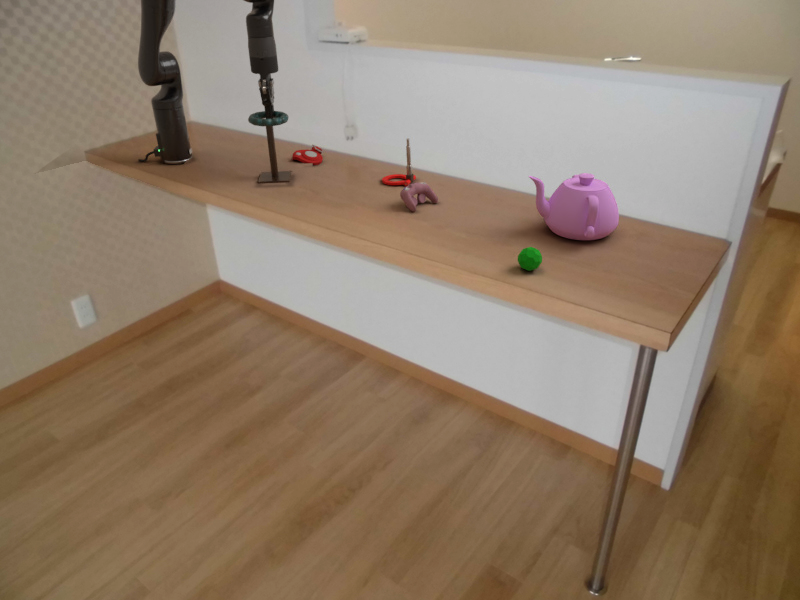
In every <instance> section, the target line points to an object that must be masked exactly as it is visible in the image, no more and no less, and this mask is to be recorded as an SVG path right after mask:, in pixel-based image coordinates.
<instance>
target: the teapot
mask: <svg viewBox="0 0 800 600" xmlns="http://www.w3.org/2000/svg"><path fill="white" fill-rule="evenodd" d="M528 178H529V179H531V181H532V182H533V184H534V185H535V188H536V189H535V191H536V193H535V207H536V210H537V212H538V213H539V215H540V216H541V217H542V218H543V220H544V223H545V225H546V226H547V227H548V228H549V229H550V231H551V232H552V233H554V234H555V235H558V236H560V237H562V238H565V239H570V240H576V241H595V240H601V239H604V238H605V237H607V236H608V235H610V234H611V233H613V232H614V231H615V230H616V229H617V227H618V226H619V221H620V212H619V206H618V203H617V200H616V198H615V196H614V193H613V191H612V189H611V188H610V186H609V184H608V183H607V182H606V181H604V180H601V179H598V178H595V174H593V173H589V172H582V173H579V174H573V175H572V176H571V177H570V178H569V177H568V178H566V179H564V180H563V181H562V182H561V183H560V184H559V186H558V187H556V189H555V190H554V192H552V194H551V196H550V197H549V199H548V200H547V199H546V197H545V184H544V182H543V180H542V179H541V178H539V177H535V176H532V175H528Z"/></svg>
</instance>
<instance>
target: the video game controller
mask: <svg viewBox="0 0 800 600" xmlns="http://www.w3.org/2000/svg"><path fill="white" fill-rule="evenodd" d="M415 195H417V196H416V197H415ZM399 196H400V199H401V201H403V203H404V204H405V206H406V208H407V209H408V210H409V211H411V212H414V213H415V212H416V211H417V205H418V204H424V203H425V202H426V200H427V199H428V200H429V201H430V202H431V203H434V204H437V203H438V202H439V198H438V196H437V194H436V193H435V191H433V189H432V188H431V186H430V185H429V184H428V183H426V182H425V181H424V182H421V181H420V182H419V181H417V182H412V183H411V184H409V185H408V186H404V188H403V189H401V191H400V193H399ZM426 198H427V199H426Z"/></svg>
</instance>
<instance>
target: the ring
mask: <svg viewBox="0 0 800 600" xmlns="http://www.w3.org/2000/svg"><path fill="white" fill-rule="evenodd" d="M273 115H274V118H272V119H266V116H265V110H263V111H256V112H254V113H251V114H250V115H249V116H248V118H247V121H248V123H249V124H251V125H253V126H256V127H266V126H273V127H275V126H281V125H284V124H286V123H288V121H289V114H288V113H286V112H284V111H278V110H274V111H273Z"/></svg>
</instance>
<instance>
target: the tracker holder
mask: <svg viewBox="0 0 800 600" xmlns="http://www.w3.org/2000/svg"><path fill="white" fill-rule="evenodd" d="M322 154H324V151H323V149H322V147H320V146H317V145H315V144H311V149H298V150H295V151H294V152H293V153H292V157H291V161H293V162H294V161H295V160H297V161H299V162H301V163H303V164H312V166H319V165H321V164H322V162H323V160H324V157H323V155H322Z"/></svg>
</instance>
